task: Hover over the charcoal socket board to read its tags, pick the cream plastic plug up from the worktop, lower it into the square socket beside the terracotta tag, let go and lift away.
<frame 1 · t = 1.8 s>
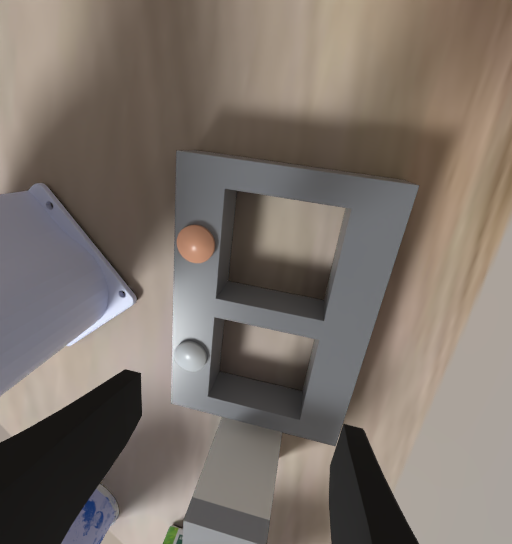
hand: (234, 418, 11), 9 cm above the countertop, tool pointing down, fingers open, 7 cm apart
socket board: (273, 298, 19), on the countertop
plug: (251, 432, 24), on the countertop
aerosol can: (85, 496, 32), on the countertop
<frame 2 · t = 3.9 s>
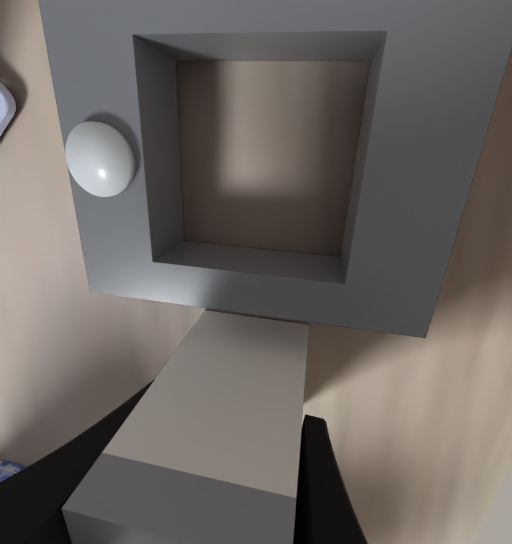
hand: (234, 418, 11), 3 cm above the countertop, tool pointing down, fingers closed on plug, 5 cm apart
socket board: (269, 36, 9), on the countertop
plug: (253, 360, 14), on the countertop, touching gripper
aerosol can: (28, 497, 22), on the countertop
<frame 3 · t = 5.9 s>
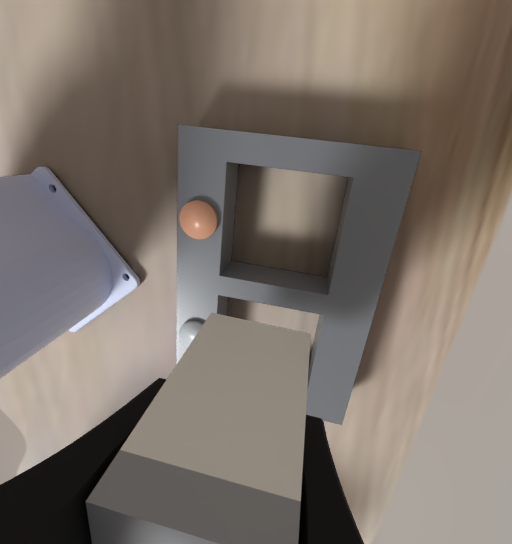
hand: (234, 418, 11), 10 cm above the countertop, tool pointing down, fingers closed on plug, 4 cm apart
socket board: (277, 277, 19), on the countertop
plug: (253, 363, 14), point 6 cm above the countertop, touching gripper
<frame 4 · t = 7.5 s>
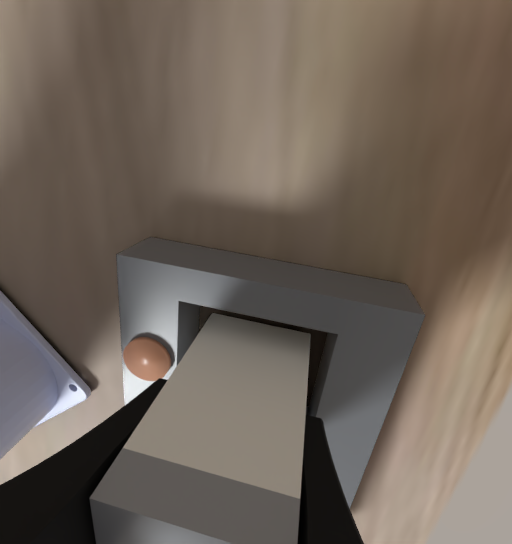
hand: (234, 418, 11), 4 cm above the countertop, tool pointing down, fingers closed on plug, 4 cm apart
socket board: (249, 401, 16), on the countertop
plug: (254, 363, 14), point 1 cm above the countertop, touching gripper
when the fingers open (4 cm above the countertop, at t = 8.2 s): plug stays where it is, resting in socket board.
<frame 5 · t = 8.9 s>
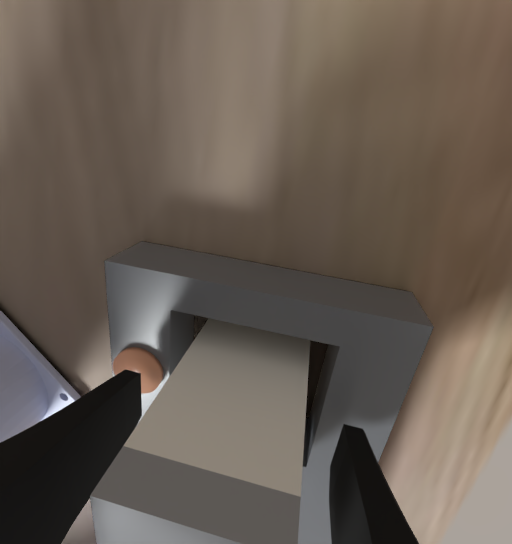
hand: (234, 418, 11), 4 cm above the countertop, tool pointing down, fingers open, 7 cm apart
socket board: (246, 412, 16), on the countertop
plug: (254, 363, 14), resting in socket board
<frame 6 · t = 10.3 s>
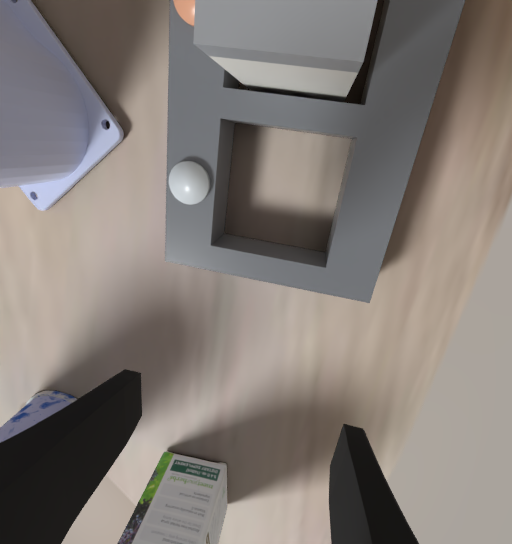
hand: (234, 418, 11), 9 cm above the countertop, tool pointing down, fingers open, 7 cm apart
socket board: (294, 117, 15), on the countertop
plug: (306, 44, 14), resting in socket board
syrup box: (198, 476, 28), on the countertop
aerosol can: (68, 423, 28), on the countertop
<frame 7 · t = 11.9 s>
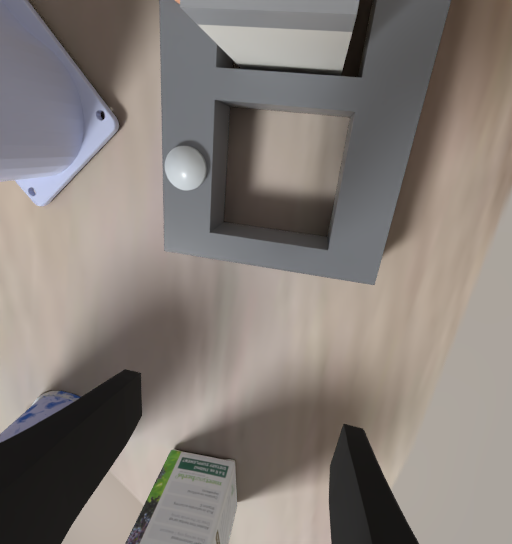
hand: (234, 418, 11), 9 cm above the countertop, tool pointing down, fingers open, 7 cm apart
socket board: (290, 98, 15), on the countertop
plug: (299, 21, 14), resting in socket board
syrup box: (206, 474, 27), on the countertop
aerosol can: (74, 423, 28), on the countertop
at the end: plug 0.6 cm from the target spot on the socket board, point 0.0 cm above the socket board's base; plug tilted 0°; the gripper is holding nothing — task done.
